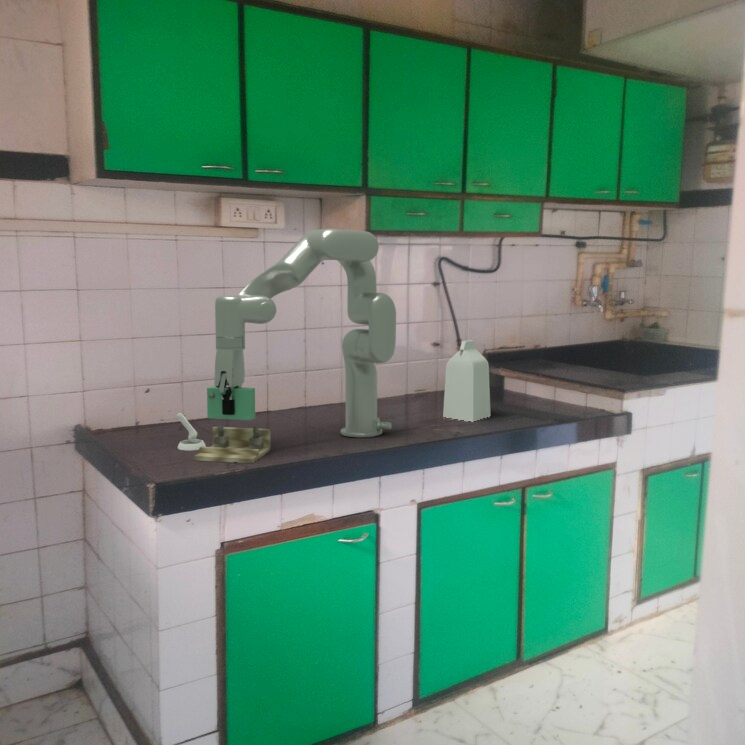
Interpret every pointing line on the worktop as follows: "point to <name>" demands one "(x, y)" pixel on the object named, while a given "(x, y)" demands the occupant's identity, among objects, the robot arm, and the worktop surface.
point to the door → (242, 403)
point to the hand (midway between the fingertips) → (231, 412)
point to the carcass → (236, 445)
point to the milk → (467, 385)
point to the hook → (192, 442)
